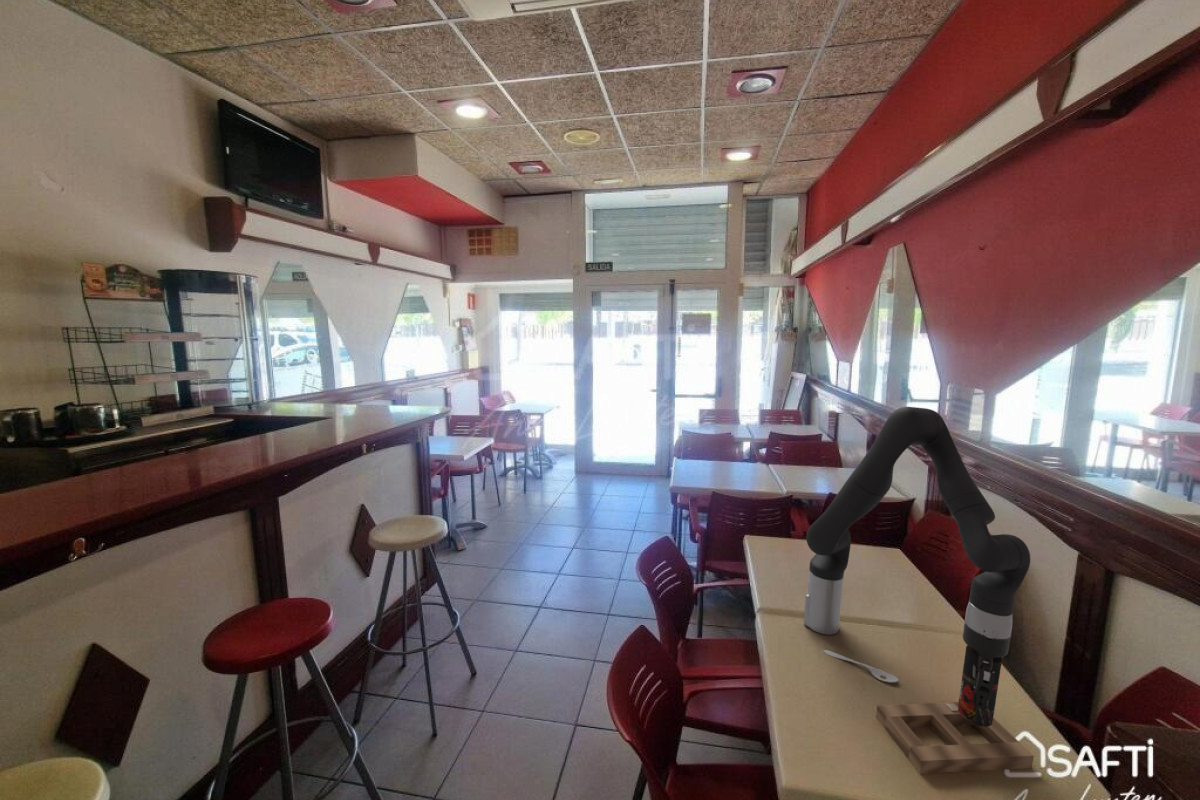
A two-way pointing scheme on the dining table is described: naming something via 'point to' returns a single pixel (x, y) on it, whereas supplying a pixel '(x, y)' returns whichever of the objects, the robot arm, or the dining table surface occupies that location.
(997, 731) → the wooden frame
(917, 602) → the dining table surface
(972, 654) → the deodorant
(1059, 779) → the dining table surface
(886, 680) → the spoon
